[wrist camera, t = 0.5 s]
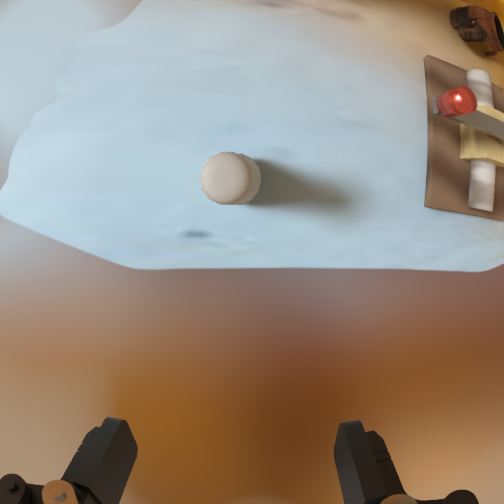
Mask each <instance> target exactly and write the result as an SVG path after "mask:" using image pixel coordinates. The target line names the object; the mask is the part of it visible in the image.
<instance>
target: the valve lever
mask: <svg viewBox="0 0 504 504" xmlns="http://www.w3.org/2000/svg"><path fill="white" fill-rule="evenodd" d="M476 109H477V99H476V96H475V94H474V93H473V91H472V90H471V89H470V88H468V87H467V86H461V87H458V88H456V89H453V90H450V91H448V92H446V93H443V94H441V95H436V96H434V97H433V112H434V115H437V116H441V117H444V118H447V119H450V120H453V121H456V122H458V123H461V124H464V125H467V126H469V127H472V128H475V129H477V130H480V131H482V132H485V133H487V134H490V135H492V136H495V137H497V138H499V139H501V140H504V122H502V121H500V120H498V119H496V118H494V117H492V116H490V115H487V114H485V113H483V112H481V111H478V110H476Z"/></svg>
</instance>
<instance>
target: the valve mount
mask: <svg viewBox="0 0 504 504" xmlns="http://www.w3.org/2000/svg"><path fill="white" fill-rule="evenodd" d="M424 67H425V78H426V91H427V113H428V155H427V177H426V191H425V203H424V206H425V207H430V208H436V209H442V210H448V211H454V212H460V213H466V214H471V215H476V216H482V217H487V218H492V219H497V220H501V221H503V219H504V140H501V139H499V138H497V137H495V136H492V135H490V134H487V133H485V132H482V131H480V130H477V129H475V128H472V127H469V126H467V125H464V124H461V123H458V122H456V121H453V120H450V119H447V118H444V117H441V116H437V115H434V112H433V97H434V96H436V95H441V94H443V93H446V92H448V91H450V90H453V89H456V88H458V87H461V86H467V87H468V88H470V89H471V90H472V91H473V93H474V94H475V96H476V99H477V109H476V110H478V111H481V112H483V113H485V114H487V115H490V116H492V117H494V118H496V119H498V120H500V121H502V122H504V96H503V89H502V88H500V87H498V86H496V85H495V84H493V83H491V79H490V75H489V73H487V72H486V71H483V70H479V69H471V70H468V71H466V70H464V69H462V68H460V67H457V66H455V65H453V64H450V63H448V62H445V61H443V60H440V59H438V58H435V57H433V56H430V55H428V56H426V57H425V58H424Z"/></svg>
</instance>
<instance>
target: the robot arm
mask: <svg viewBox="0 0 504 504" xmlns="http://www.w3.org/2000/svg"><path fill="white" fill-rule="evenodd" d="M137 451H138V449H137V444H136V441H135V439H134V437H133V434H132V432H131V430H130V427H129V425H128V423H127V421H126V420H122V419H117V418H111V417H107V418H106V419H105V420H104V422H103V423H102V425H101V427H95V428H94V429H92V430H91V431H90V432H89V433H87V434H86V436H85V438H84V440H83V441H82V445H80V447H79V448H78V452H76V454H75V455H74V457H73V459H72V461H71V462H70V464H69V466H68V468H67V470H66V471H65V473H64V475H63V477H62V478H61V479H60V480H53V481H50V482H48V483H47V484H46V485H45V486H43V485H35V484H28V483H26V482H25V481H24V480H23V479H22V478H21V477H20V476H19V475H17V474H7V475H5V476H3V477H2V478H1V479H0V504H119V502H120V499H121V497H122V494H123V491H124V489H125V486H126V483H127V481H128V478H129V475H130V473H131V470H132V468H133V465H134V462H135V460H136V457H137ZM334 459H335V464H336V469H337V472H338V477H339V481H340V486H341V490H342V494H343V499H344V503H345V504H479V503H478V500H477V498H476V496H475V495H474V494H473V493H472V492H470V491H468V490H456V491H454V492H452V493H450V494H449V495H448V496H447V497H446V498H445V499H439V500H427V501H421V500H416V499H414V498H412V497H411V496H409V495H408V494H406V492H405V491H404V489H403V487H402V484H401V482H400V479H399V476H398V474H397V472H396V469H395V467H394V464H393V462H392V460H391V457H390V454H389V452H388V451H387V447H386V445H385V442H384V440H383V438H381V437H380V436H379V435H378V434H377V433H376V432H375V431H369V432H365V430H364V428H363V425H362V423H361V421H360V420H356V421H349V422H343V423H340V424H339V427H338V431H337V436H336V441H335V445H334Z"/></svg>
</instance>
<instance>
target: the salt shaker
mask: <svg viewBox="0 0 504 504" xmlns="http://www.w3.org/2000/svg"><path fill="white" fill-rule="evenodd" d="M261 181H262V178H261V173H260V168H259V167H258V165H257V164H256V163H255V162H254V161H253V159H251V158H249V157H247V156H245V155H243V154H236V153H234V152H221V153H218V154H216V155H214V156H212V157H210V158H209V159H208V161H207V162H206V163H205V164H204V166H203V167H202V171H201V175H200V182H201V186H202V190H203V191H204V193H205V194H206V195H207V197H208V198H209V199H210V200H212V201H214V202H216V203H218V204H223V205H242V204H244V203H246V202H248V201H250V200H252V199H253V197H254V196H255V195H256V194H257V193H258V192H259V189H260V185H261Z"/></svg>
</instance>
